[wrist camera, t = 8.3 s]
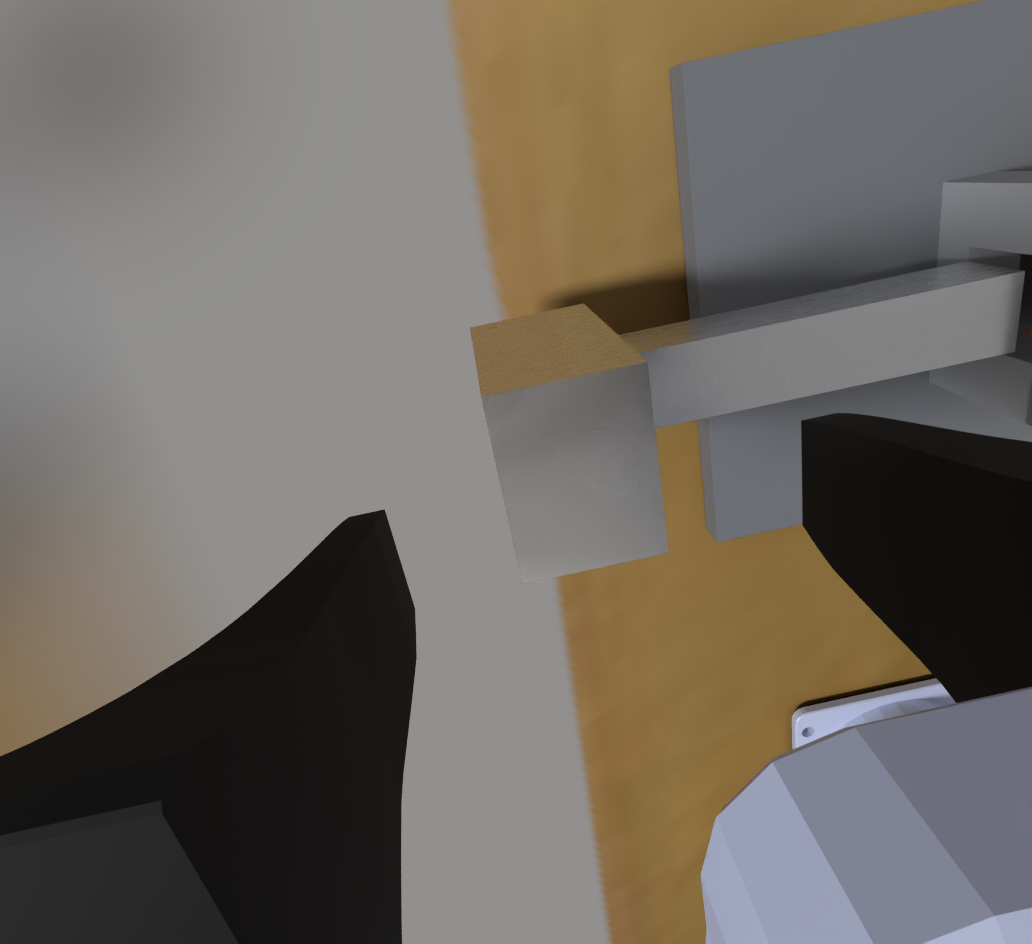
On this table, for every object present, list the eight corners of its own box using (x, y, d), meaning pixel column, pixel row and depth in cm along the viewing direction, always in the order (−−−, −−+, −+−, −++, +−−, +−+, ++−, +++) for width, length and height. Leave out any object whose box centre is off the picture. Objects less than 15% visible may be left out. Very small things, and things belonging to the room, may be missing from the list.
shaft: (956, 369, 19) (1161, 446, 14) (500, 466, 19) (522, 584, 13) (969, 222, 17) (1208, 242, 12) (469, 327, 17) (481, 397, 12)
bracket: (1152, 432, 24) (1330, 496, 19) (706, 528, 23) (773, 617, 19) (1259, -54, 18) (1556, -138, 13) (669, 69, 18) (752, 29, 13)
